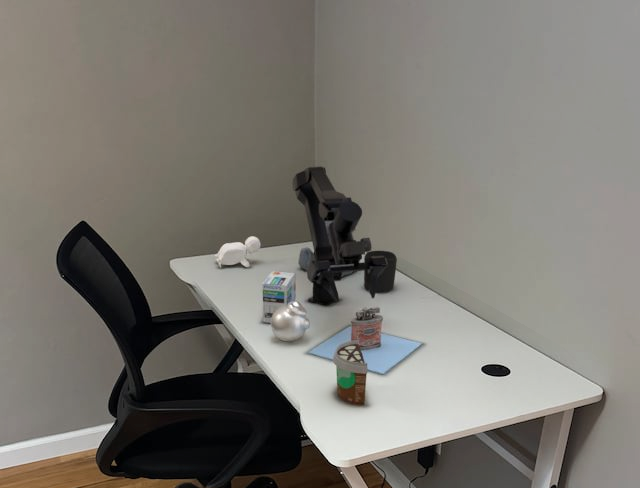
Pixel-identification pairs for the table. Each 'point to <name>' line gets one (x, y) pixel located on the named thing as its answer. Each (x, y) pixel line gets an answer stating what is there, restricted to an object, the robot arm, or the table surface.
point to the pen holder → (388, 276)
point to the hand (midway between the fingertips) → (355, 299)
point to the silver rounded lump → (290, 321)
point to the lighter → (367, 328)
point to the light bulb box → (277, 292)
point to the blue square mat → (375, 358)
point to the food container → (350, 372)
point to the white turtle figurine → (237, 252)
